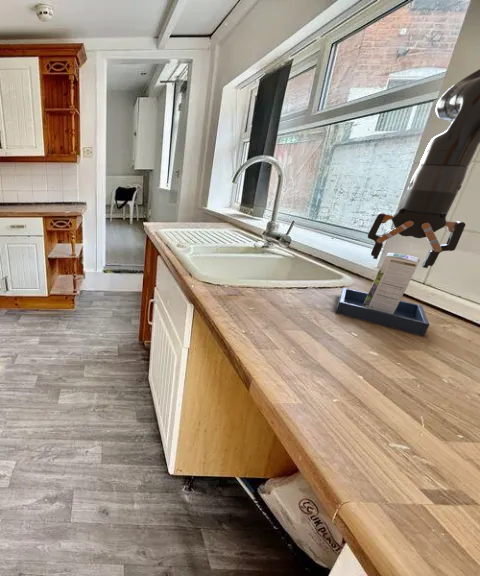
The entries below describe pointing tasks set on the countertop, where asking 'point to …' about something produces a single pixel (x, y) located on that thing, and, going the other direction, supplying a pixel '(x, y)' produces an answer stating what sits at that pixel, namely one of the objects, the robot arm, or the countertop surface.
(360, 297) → the tray
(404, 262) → the syrup box
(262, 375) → the countertop surface
